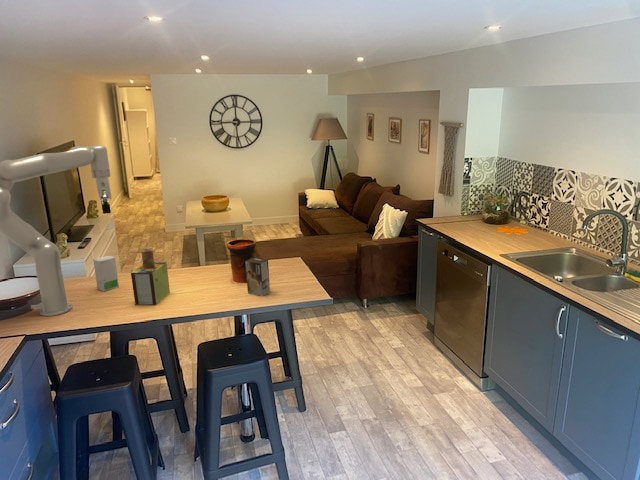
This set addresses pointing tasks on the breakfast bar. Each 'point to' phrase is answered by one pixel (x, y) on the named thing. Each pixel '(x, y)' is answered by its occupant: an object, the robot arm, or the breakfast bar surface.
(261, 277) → the coffee box
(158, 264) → the protein box
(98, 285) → the skincare box
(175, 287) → the breakfast bar surface
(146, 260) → the walnut block
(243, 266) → the vessel
